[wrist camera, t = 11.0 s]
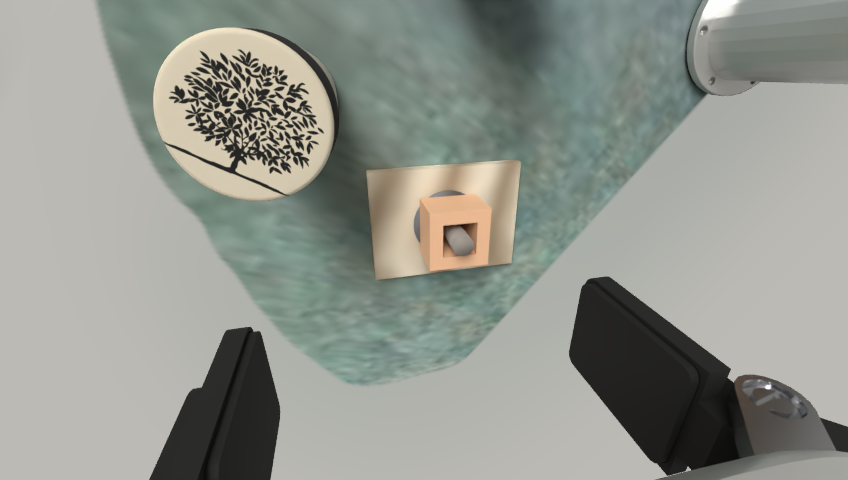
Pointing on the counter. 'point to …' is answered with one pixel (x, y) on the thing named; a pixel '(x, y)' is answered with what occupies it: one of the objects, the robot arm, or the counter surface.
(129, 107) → the counter surface
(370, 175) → the post stand
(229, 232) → the counter surface
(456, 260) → the ring
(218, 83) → the travel mug
